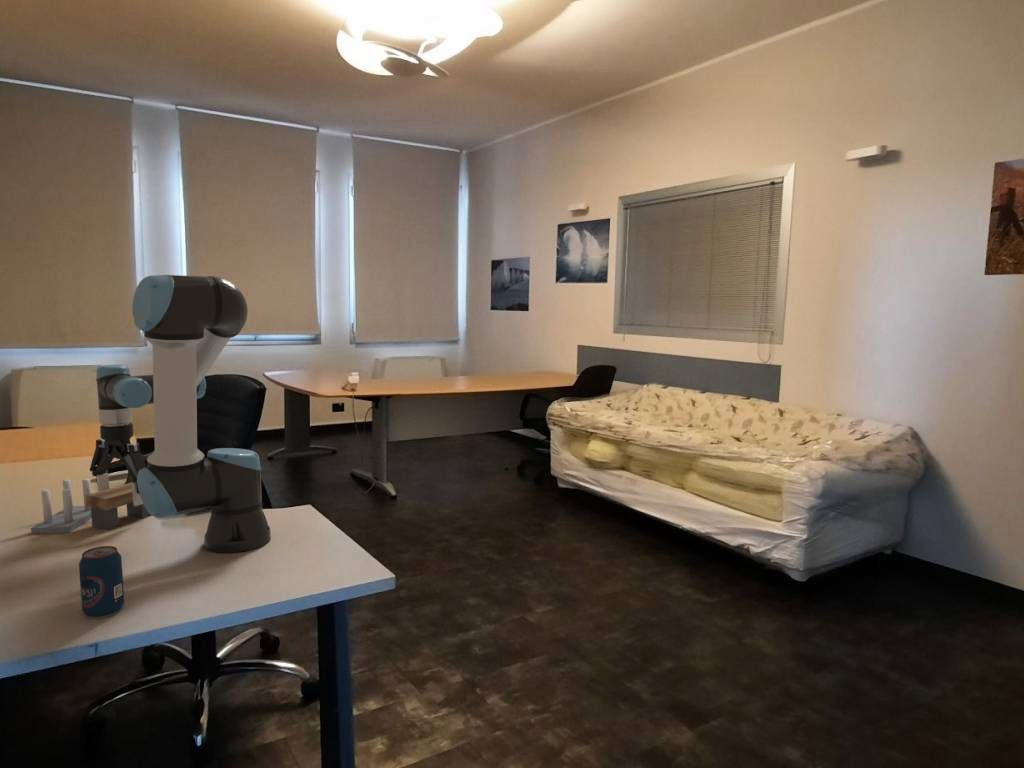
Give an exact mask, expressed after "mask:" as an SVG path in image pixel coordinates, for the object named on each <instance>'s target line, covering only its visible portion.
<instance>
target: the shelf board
mask: <svg viewBox="0 0 1024 768" xmlns="http://www.w3.org/2000/svg"><path fill="white" fill-rule="evenodd" d="M130 503H133V491H132V482H129V483H126V484H122V485H117V486H114V487H111V488H110V487H109V489H106V490H103V491H99V492H98V491H95V492H91V494H88V495H86V506H88V507H93V508H98V509H103V510H110V509H113V508H116V507H117V508H120V507H122V506H127V504H130Z"/></svg>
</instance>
